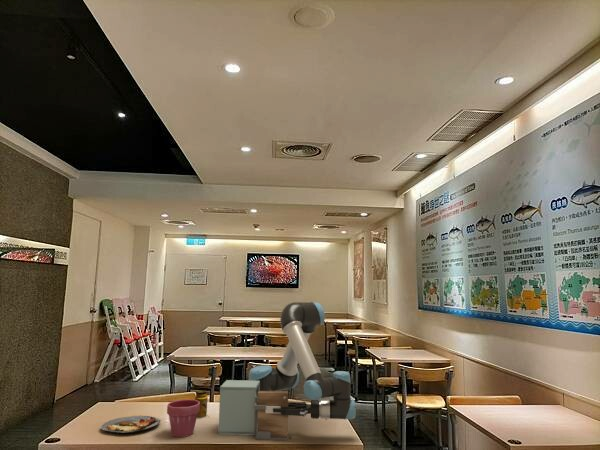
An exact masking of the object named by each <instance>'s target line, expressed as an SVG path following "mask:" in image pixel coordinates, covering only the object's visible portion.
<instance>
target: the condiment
mask: <svg viewBox="0 0 600 450" xmlns="http://www.w3.org/2000/svg"><path fill="white" fill-rule="evenodd" d="M194 400H197V401H199V402H200V411H199V412H198V414H197V419H204V418H209V417H210V415H208V414H207V413H208V391H207V390H204V389H203V390H200V389H199V390H197V391H196V392H195V398H194ZM197 419H196V420H197Z"/></svg>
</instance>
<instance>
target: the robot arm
mask: <svg viewBox="0 0 600 450" xmlns="http://www.w3.org/2000/svg"><path fill="white" fill-rule="evenodd" d="M325 316H326V314H325V310H324V308H323V305H322V304H320V303H319V302H313V301H310V302H307V301H306V302H305V301H303V302H302V301H301V302H298V301H293V302H290V303H288V304H287V305H285V306H284V308H283V309H282V311H281V314H280V318H279V319H280V321H279V322H280V327H281V330H282V332H283V334H285V335H286V336H287V339H288V343H287V345H286V347H285V351H284V353H283V355H282V358H281V359H280V360H278V361H277V363H276V365H275V367H272V366H271V365H268V364H265V365H257V366H254V367H252V368H251V369H250V370H249V373H248V381H260V391H288V390H290V389H294V388H296V387H297V385H298V383H299V381H300V377H299V376H300V372H299V369H298V367H297V366H298V365H299V368H300V371H301V373H302V375H303V377H304V380H305V382H304V384H303V388H302V389H303V394H304V396H305V398H306V399H308V400H310V404H309V403H306V402H305V401H300V402H299V401H296V402H295V401H291V402H289V401H288V407H282V405H281V406H266V410H265V413H281V414H282V415H288V416H291V417H292V416H295V417H296V416H297V417H298V416H299V417H306V415H309V414H310V419H312V420H314V419H325V421H327V420H330V419H331V420H332V419H333V420H354V419H355V418H356V414H357V411H356V410H357V409H356V407H357V406H356V401H355V400H354V399H353V400H352V399H351V398H352V397H351V375H350V372H348V371H344V370H336V371H333V374H332V377H326V378H324V376H323V374H322V372H321V369H320V368H319V365H318V362H317V360H316V358H315V356H314V353H313V351H312V349H311V346H310V344H309V342H308V341H309V338H310V336H311V335H312V334H313V333H314V332H316V329H317V327H319V326H322V325H323V324H324V323H325V319H326V317H325ZM324 398H333V399H324Z"/></svg>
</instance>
